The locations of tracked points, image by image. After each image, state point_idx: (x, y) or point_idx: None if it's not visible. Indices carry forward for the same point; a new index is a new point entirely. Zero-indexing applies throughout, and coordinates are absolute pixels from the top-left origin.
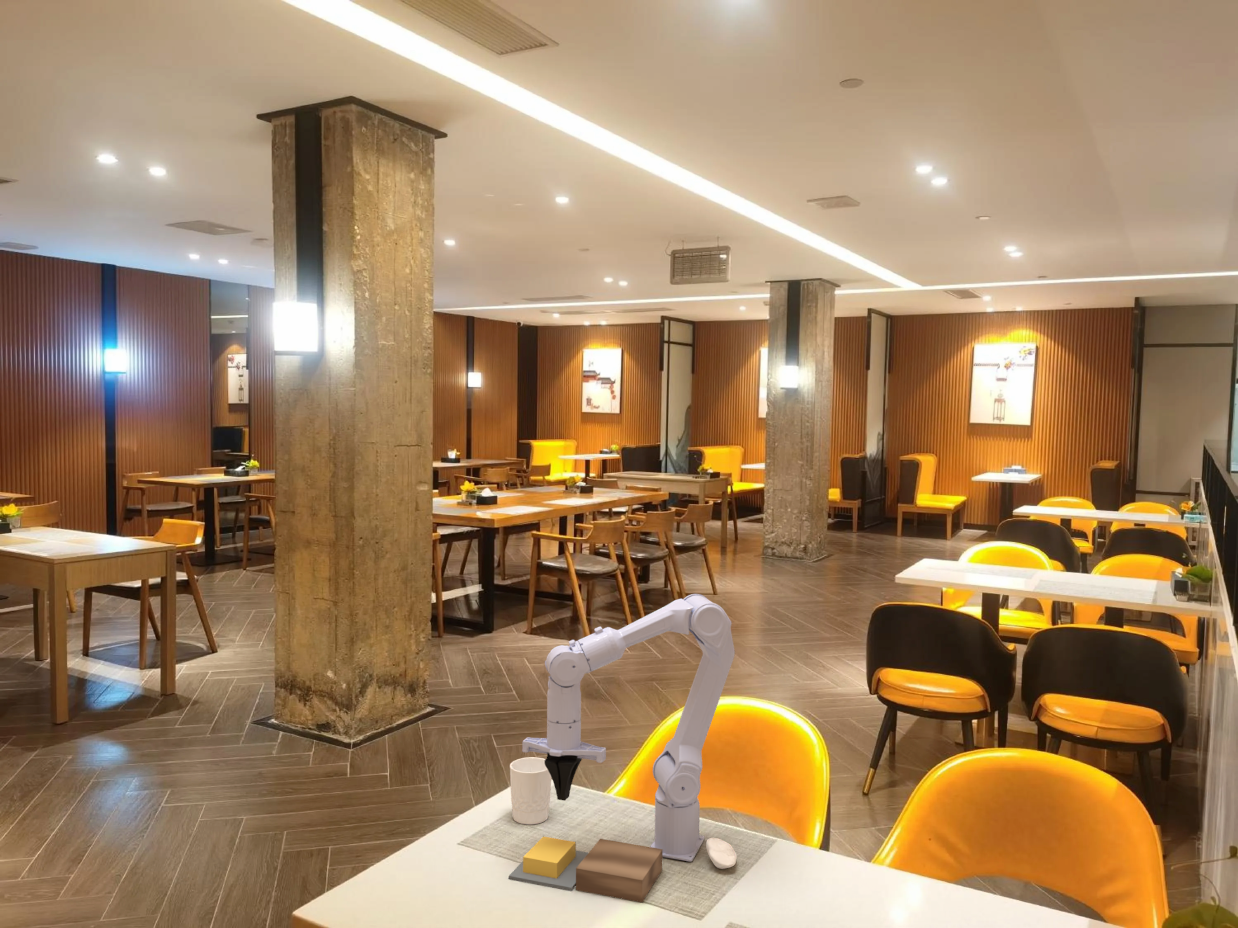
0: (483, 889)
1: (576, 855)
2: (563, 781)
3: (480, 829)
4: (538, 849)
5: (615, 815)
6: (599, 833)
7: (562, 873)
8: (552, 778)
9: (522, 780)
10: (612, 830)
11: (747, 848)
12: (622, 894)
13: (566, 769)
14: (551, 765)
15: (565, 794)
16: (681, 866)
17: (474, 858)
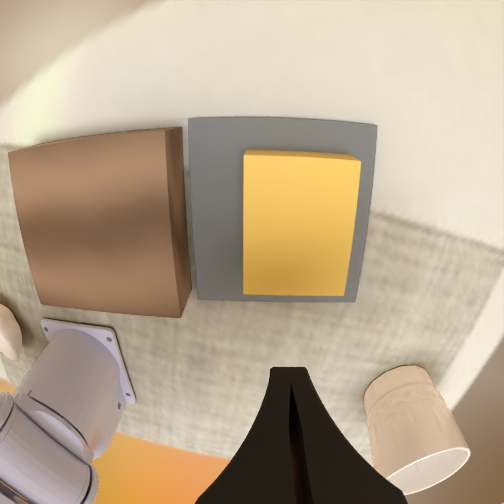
0: (408, 62)
1: None
2: (271, 432)
3: (478, 318)
4: (332, 219)
5: (241, 431)
6: (242, 380)
7: (242, 180)
8: (340, 435)
9: (439, 434)
10: (222, 393)
11: (19, 368)
12: (67, 139)
13: (235, 493)
14: (354, 500)
15: (267, 387)
16: None
17: (473, 202)
